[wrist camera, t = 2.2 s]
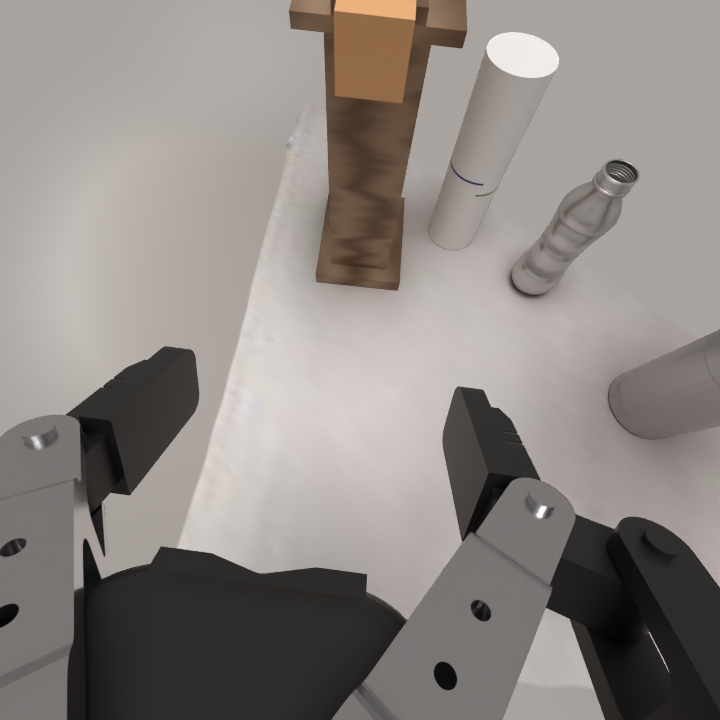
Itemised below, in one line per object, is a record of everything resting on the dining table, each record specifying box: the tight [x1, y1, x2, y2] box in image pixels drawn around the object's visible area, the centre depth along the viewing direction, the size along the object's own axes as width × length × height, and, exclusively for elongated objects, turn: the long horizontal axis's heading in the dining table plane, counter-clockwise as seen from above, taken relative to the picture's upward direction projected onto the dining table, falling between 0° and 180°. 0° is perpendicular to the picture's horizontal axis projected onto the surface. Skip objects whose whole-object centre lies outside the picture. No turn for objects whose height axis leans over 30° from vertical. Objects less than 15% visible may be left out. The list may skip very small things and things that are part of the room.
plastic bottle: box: [512, 159, 640, 295], centre depth 47 cm, size 6×7×20 cm
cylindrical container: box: [429, 32, 559, 250], centre depth 47 cm, size 7×7×25 cm
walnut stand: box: [289, 0, 467, 290], centre depth 42 cm, size 12×16×33 cm
